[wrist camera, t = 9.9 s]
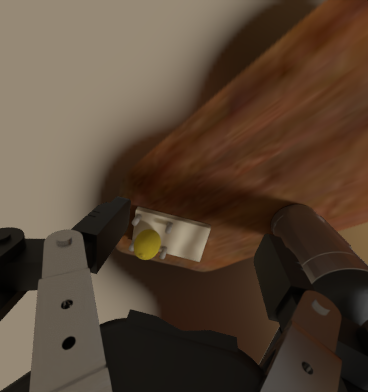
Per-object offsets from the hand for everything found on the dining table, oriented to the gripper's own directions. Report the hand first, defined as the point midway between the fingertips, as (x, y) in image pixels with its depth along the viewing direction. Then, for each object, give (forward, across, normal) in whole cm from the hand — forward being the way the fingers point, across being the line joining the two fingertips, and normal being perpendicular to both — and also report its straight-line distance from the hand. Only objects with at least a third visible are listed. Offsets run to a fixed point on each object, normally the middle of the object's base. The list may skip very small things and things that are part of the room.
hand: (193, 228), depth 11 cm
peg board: (+28, +3, +22) cm, 36 cm away
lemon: (+27, +7, +22) cm, 35 cm away
